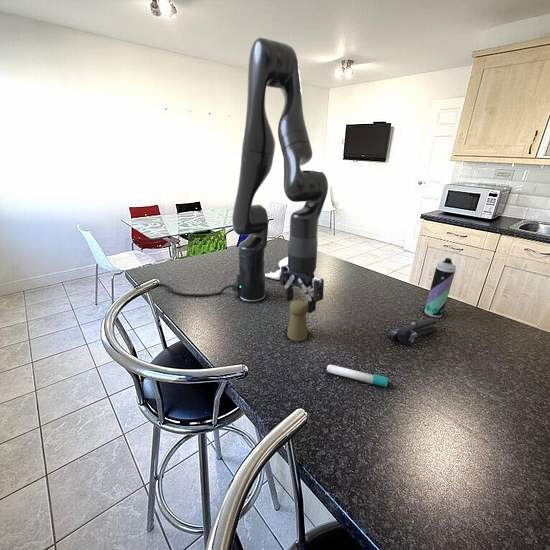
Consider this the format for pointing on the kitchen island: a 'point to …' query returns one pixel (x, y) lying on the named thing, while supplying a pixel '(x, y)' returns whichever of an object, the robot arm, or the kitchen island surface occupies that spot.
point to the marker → (358, 375)
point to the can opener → (412, 331)
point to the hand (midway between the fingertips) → (299, 305)
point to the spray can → (440, 288)
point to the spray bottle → (278, 272)
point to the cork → (298, 321)
